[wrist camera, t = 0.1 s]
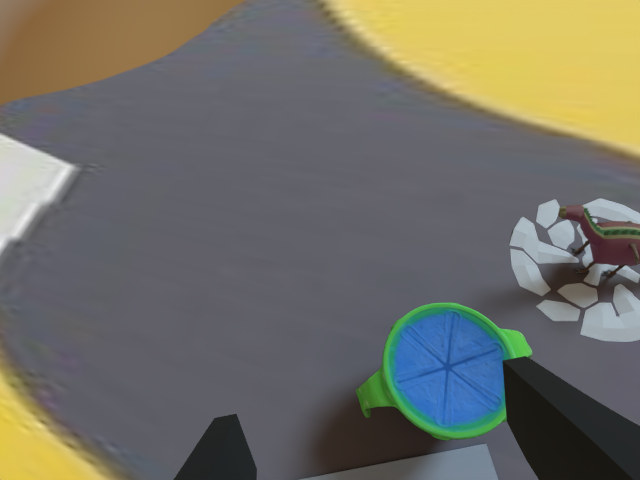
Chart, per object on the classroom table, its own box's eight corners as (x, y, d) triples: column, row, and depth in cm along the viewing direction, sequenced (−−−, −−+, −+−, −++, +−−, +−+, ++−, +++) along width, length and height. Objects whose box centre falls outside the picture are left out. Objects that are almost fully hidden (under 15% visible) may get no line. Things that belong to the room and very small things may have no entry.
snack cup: (371, 457, 38) (368, 458, 29) (348, 348, 43) (340, 321, 34) (533, 425, 38) (580, 416, 29) (490, 318, 43) (519, 283, 34)
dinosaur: (514, 334, 42) (554, 300, 32) (503, 193, 50) (532, 132, 41) (712, 354, 39) (820, 322, 29) (666, 200, 47) (739, 135, 37)
